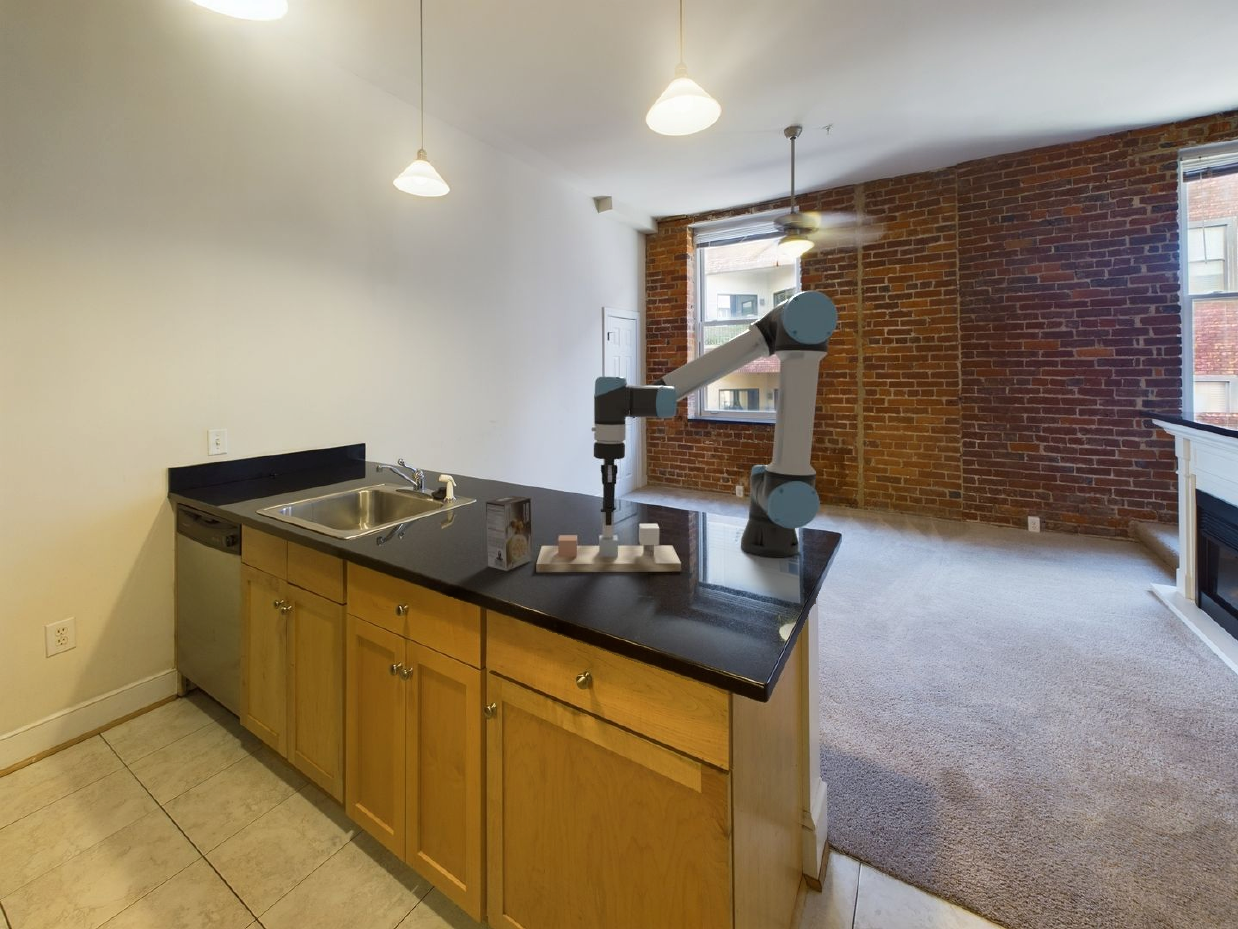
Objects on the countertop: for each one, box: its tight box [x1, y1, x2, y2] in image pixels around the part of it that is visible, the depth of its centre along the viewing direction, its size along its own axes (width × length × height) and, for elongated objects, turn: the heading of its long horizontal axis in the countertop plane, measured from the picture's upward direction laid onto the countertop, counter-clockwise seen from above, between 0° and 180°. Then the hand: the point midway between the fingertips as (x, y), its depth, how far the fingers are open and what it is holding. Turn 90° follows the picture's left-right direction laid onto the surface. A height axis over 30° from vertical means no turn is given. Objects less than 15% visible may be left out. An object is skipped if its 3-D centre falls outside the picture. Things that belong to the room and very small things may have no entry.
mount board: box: [535, 545, 682, 573], centre depth 132 cm, size 34×14×5 cm, turn 93°
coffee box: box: [485, 495, 533, 572], centre depth 129 cm, size 9×6×16 cm
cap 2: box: [638, 523, 660, 546], centre depth 132 cm, size 4×4×4 cm
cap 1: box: [557, 534, 578, 557], centre depth 131 cm, size 4×4×4 cm
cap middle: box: [598, 534, 619, 557], centre depth 132 cm, size 4×4×4 cm
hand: (608, 536), depth 132 cm, fingers closed
